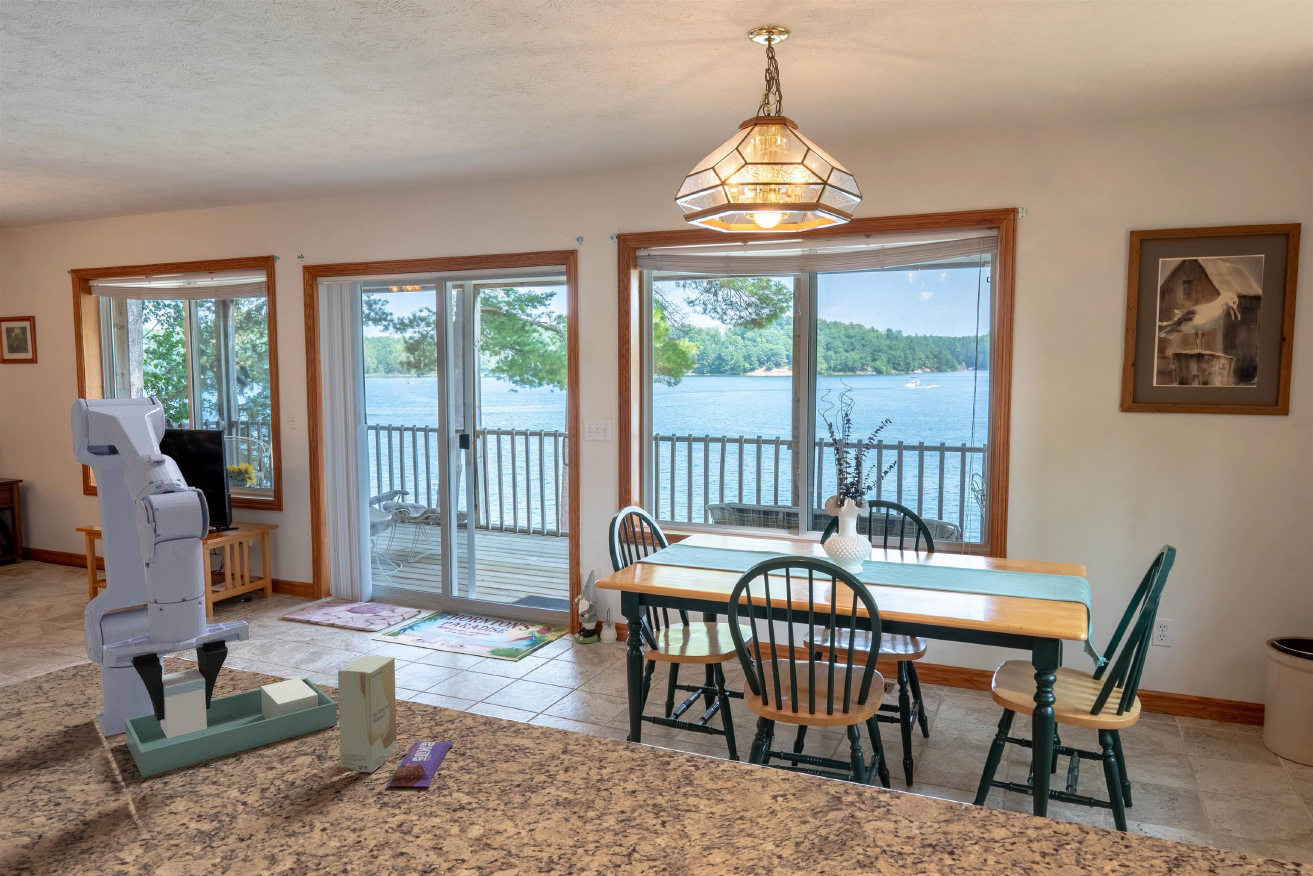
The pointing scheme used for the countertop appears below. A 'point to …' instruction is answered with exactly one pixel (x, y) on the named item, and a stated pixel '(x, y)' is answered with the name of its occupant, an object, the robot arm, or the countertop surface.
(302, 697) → the white box
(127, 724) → the tray
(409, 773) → the snack package
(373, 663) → the skincare box
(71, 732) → the countertop surface
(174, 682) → the milk carton
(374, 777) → the countertop surface
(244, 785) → the countertop surface
